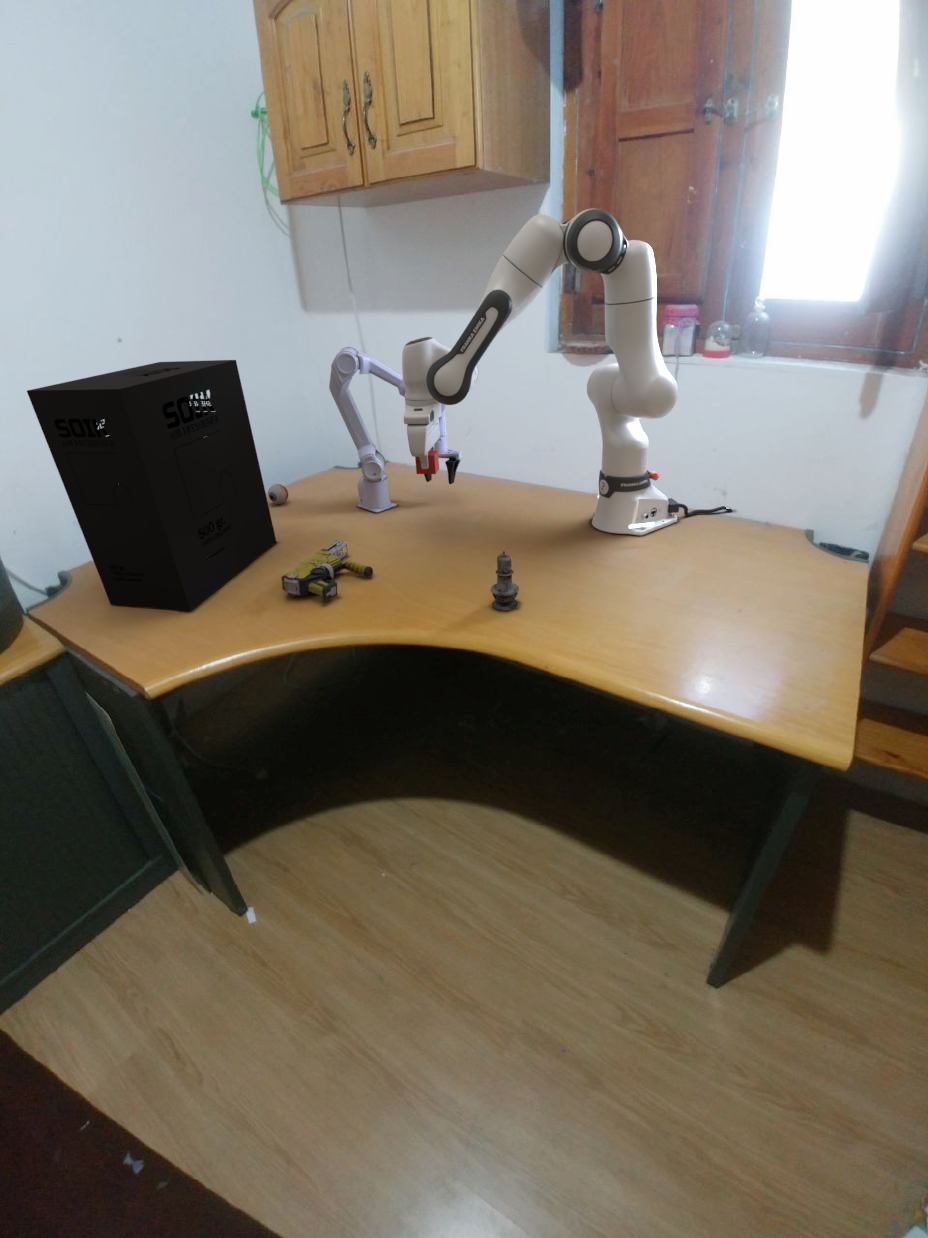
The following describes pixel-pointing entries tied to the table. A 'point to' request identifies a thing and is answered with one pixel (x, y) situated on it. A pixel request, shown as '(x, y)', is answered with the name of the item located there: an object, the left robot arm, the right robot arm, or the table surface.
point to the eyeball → (278, 493)
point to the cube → (433, 464)
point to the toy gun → (321, 572)
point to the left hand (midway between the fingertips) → (440, 481)
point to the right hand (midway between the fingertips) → (427, 464)
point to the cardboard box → (160, 478)
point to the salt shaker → (504, 585)
